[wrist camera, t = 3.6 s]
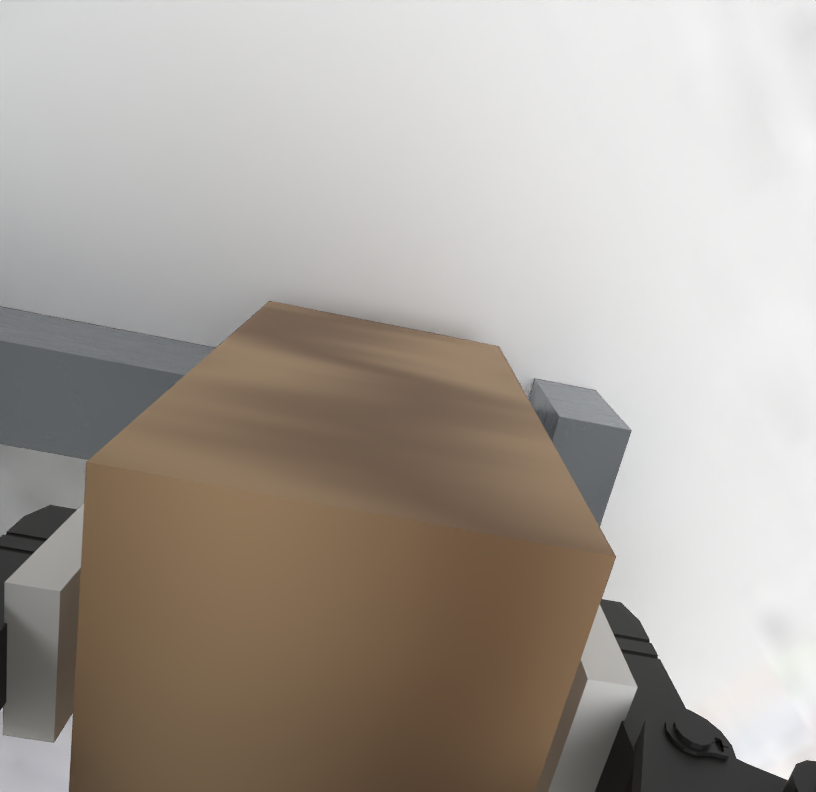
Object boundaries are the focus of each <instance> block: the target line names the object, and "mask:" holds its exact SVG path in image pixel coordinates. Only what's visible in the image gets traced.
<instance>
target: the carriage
mask: <svg viewBox="0 0 816 792" xmlns="http://www.w3.org/2000/svg"><path fill="white" fill-rule="evenodd" d="M615 558H616V556H615V554H614V552H613V550H612V549H611V547H610V545H609V543H608V541H607V540H606V538H605V536H604V534H603V532H602V531H601V529H600V527H599V525H598V523H597V522H596V520H595V518H594V516H593V514H592V513H591V511H590V509H589V507H588V506H587V504H586V502H585V500H584V498H583V497H582V495H581V493H580V491H579V489H578V488H577V486H576V484H575V482H574V480H573V479H572V477H571V475H570V473H569V471H568V470H567V468H566V466H565V464H564V462H563V461H562V459H561V457H560V455H559V453H558V452H557V450H556V448H555V446H554V444H553V443H552V441H551V439H550V437H549V435H548V434H547V432H546V430H545V428H544V426H543V425H542V423H541V421H540V419H539V417H538V416H537V414H536V412H535V410H534V408H533V407H532V405H531V403H530V401H529V399H528V398H527V396H526V394H525V392H524V390H523V389H522V387H521V385H520V383H519V381H518V380H517V378H516V376H515V374H514V372H513V371H512V369H511V367H510V365H509V364H508V362H507V360H506V358H505V356H504V355H503V353H502V351H501V349H500V347H499V346H495V345H489V344H484V343H479V342H474V341H469V340H464V339H459V338H454V337H449V336H444V335H439V334H434V333H429V332H424V331H419V330H414V329H409V328H404V327H399V326H394V325H388V324H383V323H378V322H373V321H368V320H363V319H358V318H353V317H348V316H343V315H338V314H333V313H328V312H323V311H318V310H313V309H308V308H303V307H298V306H293V305H287V304H282V303H277V302H272V301H269V302H268V303H267V304H265V305H264V306H263V307H262V308H261V309H260V310H259V311H257V312H256V313H255V314H254V315H253V316H252V317H251V318H250V319H248V320H247V321H246V322H245V323H244V324H243V325H242V326H240V327H239V328H238V329H237V330H236V331H235V332H234V333H232V334H231V335H230V336H229V337H228V338H227V339H226V340H225V341H223V342H222V343H221V344H220V345H219V346H218V347H217V348H215V349H214V350H213V351H212V352H211V353H210V354H209V355H207V356H206V357H205V358H204V359H203V360H202V361H201V362H199V363H198V364H197V365H196V366H195V367H194V368H193V369H192V370H190V371H189V372H188V373H187V374H186V375H185V376H184V377H182V378H181V379H180V380H179V381H178V382H177V383H176V384H174V385H173V386H172V387H171V388H170V389H169V390H168V391H167V392H165V393H164V394H163V395H162V396H161V397H160V398H159V399H157V400H156V401H155V402H154V403H153V404H152V405H151V406H149V407H148V408H147V409H146V410H145V411H144V412H143V413H141V414H140V415H139V416H138V417H137V418H136V419H135V420H134V421H132V422H131V423H130V424H129V425H128V426H127V427H126V428H124V429H123V430H122V431H121V432H120V433H119V434H118V435H116V436H115V437H114V438H113V439H112V440H111V441H110V442H108V443H107V444H106V445H105V446H104V447H103V448H102V449H101V450H99V451H98V452H97V453H96V454H95V455H94V456H93V457H91V458H90V459H89V460H88V461H87V462H86V477H85V496H84V515H83V534H82V553H81V572H80V592H79V611H78V630H77V649H76V668H75V687H74V706H73V725H72V744H71V763H70V782H69V792H535V790H536V787H537V784H538V781H539V778H540V775H541V773H542V770H543V767H544V764H545V761H546V758H547V755H548V752H549V749H550V747H551V744H552V741H553V738H554V735H555V732H556V729H557V726H558V723H559V720H560V718H561V715H562V712H563V709H564V706H565V703H566V700H567V697H568V694H569V692H570V689H571V686H572V683H573V680H574V677H575V674H576V671H577V668H578V666H579V663H580V660H581V657H582V654H583V651H584V648H585V645H586V642H587V639H588V637H589V634H590V631H591V628H592V625H593V622H594V619H595V616H596V613H597V611H598V608H599V605H600V602H601V599H602V596H603V593H604V590H605V587H606V584H607V582H608V579H609V576H610V573H611V570H612V567H613V564H614V561H615Z"/></svg>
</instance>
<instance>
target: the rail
mask: <svg viewBox="0 0 816 792" xmlns="http://www.w3.org/2000/svg"><path fill="white" fill-rule="evenodd" d="M214 349H215V348H213V347H208V346H203V345H198V344H193V343H187V342H182V341H177V340H172V339H167V338H161V337H156V336H151V335H146V334H141V333H135V332H130V331H125V330H120V329H115V328H109V327H104V326H99V325H94V324H89V323H83V322H78V321H73V320H68V319H63V318H57V317H52V316H47V315H42V314H37V313H31V312H26V311H21V310H16V309H11V308H5V307H0V444H3V445H9V446H15V447H20V448H26V449H31V450H37V451H42V452H48V453H54V454H59V455H65V456H70V457H76V458H81V459H87V460H89V459H90V458H91V457H93V456H94V455H95V454H96V453H97V452H98V451H99V450H101V449H102V448H103V447H104V446H105V445H106V444H107V443H108V442H110V441H111V440H112V439H113V438H114V437H115V436H116V435H118V434H119V433H120V432H121V431H122V430H123V429H124V428H126V427H127V426H128V425H129V424H130V423H131V422H132V421H134V420H135V419H136V418H137V417H138V416H139V415H140V414H141V413H143V412H144V411H145V410H146V409H147V408H148V407H149V406H151V405H152V404H153V403H154V402H155V401H156V400H157V399H159V398H160V397H161V396H162V395H163V394H164V393H165V392H167V391H168V390H169V389H170V388H171V387H172V386H173V385H174V384H176V383H177V382H178V381H179V380H180V379H181V378H182V377H184V376H185V375H186V374H187V373H188V372H189V371H190V370H192V369H193V368H194V367H195V366H196V365H197V364H198V363H199V362H201V361H202V360H203V359H204V358H205V357H206V356H207V355H209V354H210V353H211V352H212V351H213V350H214ZM529 401H530V403H531V405H532V407H533V408H534V410H535V412H536V414H537V416H538V417H539V419H540V421H541V423H542V425H543V426H544V428H545V430H546V432H547V434H548V435H549V437H550V439H551V441H552V443H553V444H554V446H555V448H556V450H557V452H558V453H559V455H560V457H561V459H562V461H563V462H564V464H565V466H566V468H567V470H568V471H569V473H570V475H571V477H572V479H573V480H574V482H575V484H576V486H577V488H578V489H579V491H580V493H581V495H582V497H583V498H584V500H585V502H586V504H587V506H588V507H589V509H590V511H591V513H592V514H593V516H594V518H595V520H596V522H597V523H598V525H599V527H600V524H601V521H602V518H603V515H604V512H605V509H606V506H607V503H608V500H609V497H610V494H611V491H612V488H613V485H614V482H615V479H616V476H617V473H618V470H619V467H620V464H621V461H622V458H623V455H624V452H625V449H626V446H627V443H628V440H629V436H630V433H631V429H630V428H629V427H628V426H627V425H626V424H625V423H624V421H623V420H622V419H621V418H620V417H619V416H618V415H617V414H616V413H615V411H614V410H613V409H612V408H611V407H610V406H609V405H608V404H607V403H606V401H605V400H604V399H603V398H602V397H601V396H600V395H599V394H598V393H597V391H596V390H591V389H586V388H580V387H575V386H570V385H565V384H560V383H555V382H550V381H545V380H540V379H535V380H534V384H533V387H532V391H531V395H530V398H529Z"/></svg>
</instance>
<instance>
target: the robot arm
mask: <svg viewBox="0 0 816 792" xmlns="http://www.w3.org/2000/svg"><path fill="white" fill-rule="evenodd" d="M83 515H84V503H83V504H82V505H81V506H80V507H79V508H78V509H77V510H76V509H71V508H65V507H59V506H53V505H49V506H47V507H45V508H42V509H40V510H38V511H35V512H33V513H31V514H29V515H26V516H24V517H23V518H22V519H21V520H20V521H18V522H17V523H16V524H15V525H14V526H13V527H12V528H10V529H9V530H8V531H7V533H6V535H2V536H1V537H0V710H1V708H2V707H3V735H6V736H13V737H20V738H26V739H33V740H39V741H46V742H53V743H54V742H55V740H56V739H57V737H58V736H59V734H60V732H61V731H62V729H63V728H64V726H65V724H66V723H67V721H68V720H69V718H70V716H71V715H72V713H73V706H74V687H75V668H76V649H77V630H78V611H79V592H80V572H81V553H82V534H83ZM657 656H658V655H657V653H656V651H655V649H654V647H653V645H652V643H649V638H648V636H647V634H646V632H645V630H644V628H643V626H642V624H641V623H640V621H639V620H638V619H637V618H636V617H635V616H634V615H633V614H632V613H631V612H630V611H629V610H628V609H627V608H626V607H625V606H624V605H623V604H622V603H621V602H615V601H609V600H603V599H601V602H600V605H599V608H598V611H597V613H596V616H595V619H594V622H593V625H592V628H591V631H590V634H589V637H588V639H587V642H586V645H585V648H584V651H583V654H582V657H581V660H580V663H579V666H578V668H577V671H576V674H575V677H574V680H573V683H572V686H571V689H570V692H569V694H568V697H567V700H566V703H565V706H564V709H563V712H562V715H561V718H560V720H559V723H558V726H557V729H556V732H555V735H554V738H553V741H552V744H551V747H550V749H549V752H548V755H547V758H546V761H545V764H544V767H543V770H542V773H541V775H540V778H539V781H538V784H537V787H536V790H535V792H816V761H808V760H806V761H803V762H801V763H798V764H796V766H795V768H794V770H793V772H792V774H791V776H790V778H789V780H786V779H783V778H781V777H778V776H776V775H773V774H771V773H768V772H766V771H764V770H761V769H759V768H756V767H754V766H751V765H749V764H746V763H744V762H742V761H740V760H738V759H736V756H735V753H734V750H733V748H732V745H731V744H730V743H729V741H728V740H727V739H726V737H725V736H724V735H723V734H722V732H721V731H720V730H719V729H717V728H716V727H715V726H714V725H713V724H711V723H710V722H709V721H708V720H706V719H705V718H703V717H701V716H699V715H698V714H696V713H694V712H692V711H690V710H688V709H686V708H685V706H684V704H683V702H682V700H681V698H680V696H679V694H678V693H677V691H676V689H675V687H674V685H673V683H672V681H671V679H670V677H669V676H668V674H667V672H666V670H665V668H664V666H663V664H662V662H661V660H660V659H658V658H657Z"/></svg>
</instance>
